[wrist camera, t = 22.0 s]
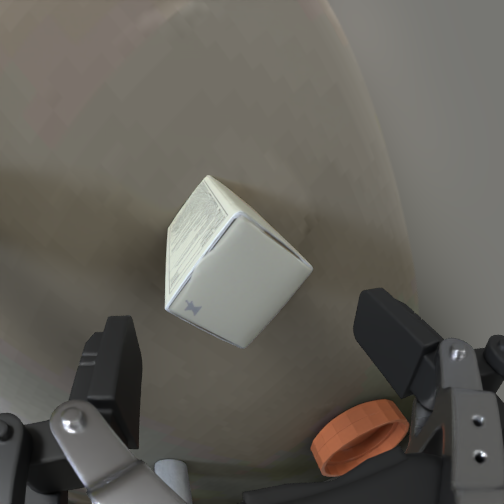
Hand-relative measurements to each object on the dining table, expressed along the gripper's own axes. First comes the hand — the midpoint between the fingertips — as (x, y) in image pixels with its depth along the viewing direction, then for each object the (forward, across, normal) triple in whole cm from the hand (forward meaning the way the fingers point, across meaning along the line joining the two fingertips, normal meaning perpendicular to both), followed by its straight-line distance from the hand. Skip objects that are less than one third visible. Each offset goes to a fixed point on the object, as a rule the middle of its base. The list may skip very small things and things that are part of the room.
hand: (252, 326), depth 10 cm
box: (+14, 0, 0) cm, 14 cm away
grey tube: (+14, +8, +34) cm, 37 cm away
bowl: (+14, -19, +33) cm, 40 cm away
